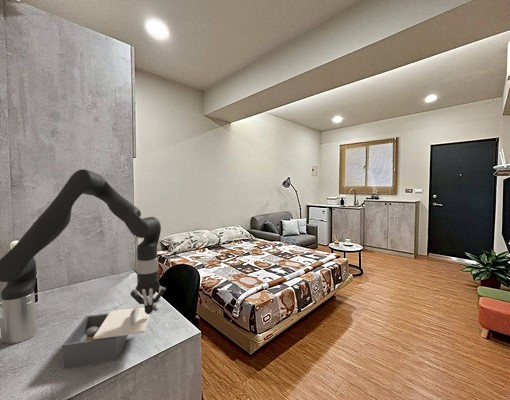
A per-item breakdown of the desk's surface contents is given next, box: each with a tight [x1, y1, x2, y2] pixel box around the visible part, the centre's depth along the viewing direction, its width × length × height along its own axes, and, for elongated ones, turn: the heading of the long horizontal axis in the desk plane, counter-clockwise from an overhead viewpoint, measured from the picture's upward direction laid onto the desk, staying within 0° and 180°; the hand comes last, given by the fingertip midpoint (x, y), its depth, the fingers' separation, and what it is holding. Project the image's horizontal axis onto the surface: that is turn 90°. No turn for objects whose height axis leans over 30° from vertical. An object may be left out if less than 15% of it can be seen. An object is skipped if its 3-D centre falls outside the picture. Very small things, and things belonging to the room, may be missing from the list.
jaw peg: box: [86, 326, 98, 340], centre depth 89 cm, size 4×4×7 cm
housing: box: [61, 312, 129, 369], centre depth 89 cm, size 16×18×8 cm
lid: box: [93, 303, 152, 340], centre depth 91 cm, size 16×17×5 cm
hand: (149, 313), depth 93 cm, fingers closed
